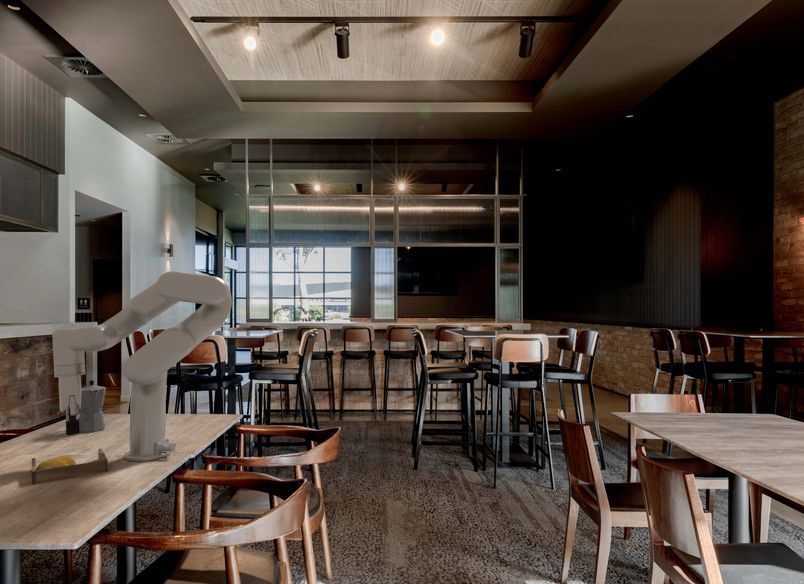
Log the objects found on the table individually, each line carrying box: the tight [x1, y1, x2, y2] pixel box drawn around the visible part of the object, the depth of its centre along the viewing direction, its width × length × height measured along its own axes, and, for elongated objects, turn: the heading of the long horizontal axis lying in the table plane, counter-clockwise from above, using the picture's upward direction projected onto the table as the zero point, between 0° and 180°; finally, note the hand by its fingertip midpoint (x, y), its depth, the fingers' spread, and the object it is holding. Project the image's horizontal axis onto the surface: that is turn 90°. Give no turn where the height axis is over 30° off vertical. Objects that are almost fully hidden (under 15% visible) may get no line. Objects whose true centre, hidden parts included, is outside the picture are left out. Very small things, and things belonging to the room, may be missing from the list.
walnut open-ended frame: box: [31, 448, 109, 485], centre depth 139 cm, size 15×17×3 cm
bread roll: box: [36, 455, 77, 471], centre depth 139 cm, size 8×9×4 cm
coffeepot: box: [78, 379, 107, 434], centre depth 188 cm, size 15×9×18 cm, turn 43°
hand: (72, 434), depth 148 cm, fingers closed
